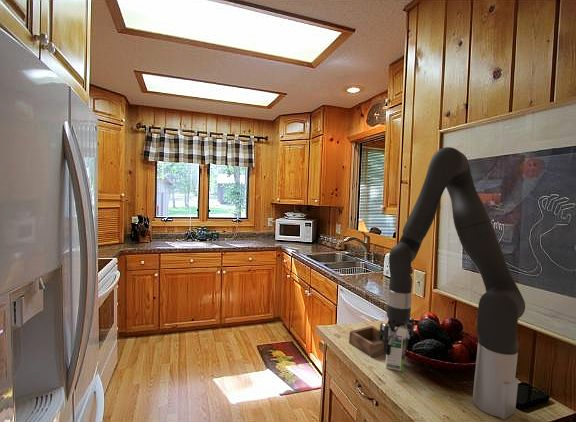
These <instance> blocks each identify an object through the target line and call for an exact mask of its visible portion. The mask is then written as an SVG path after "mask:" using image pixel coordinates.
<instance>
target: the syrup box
mask: <svg viewBox="0 0 576 422" xmlns="http://www.w3.org/2000/svg"><path fill="white" fill-rule="evenodd" d="M399 326H401V327H399V328H398V327H395V330H396V329H397V328H398V331H397V332H396V333H397V335H396V337H395V339H393V340H392V342H391V352H390V355H387V354H385V369H387V370H388V369H389V370H390V369H391V370H395V371H400V372H404V371H405V359H406V358H405V357H406V350H405V346H406V333H407V328H406V324H405V326H404V325H399ZM395 330H394V331H395ZM393 333H394V332H393V331H392V330H391V328H390V327H389V331H388V334H391V335H392V334H393ZM389 338H390V336H388V340H389Z"/></svg>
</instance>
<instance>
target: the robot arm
mask: <svg viewBox="0 0 576 422" xmlns="http://www.w3.org/2000/svg"><path fill="white" fill-rule="evenodd" d="M445 190H447V193H448V195H449V198H450V202H451V210H452V219H453V224H454V228H455V231H456V233H457V237H458V240H459V242H460V245H461V246H462V249H463V250H464V252H465V253H466V255H467V256H468V257H469V258H470V260H471V262H472V263H473V264H474V265H475V267H476V268H477V270H478V271H479V274H480V276H481V279H482V282H483V285H484V289H485V293H484V294H482V295H481V297H480V298H479V302H478V306H477V320H476V332H477V333H476V334H477V335H478V338H477V340H478V341H477V351H476V359H475V360H476V361H475V370H474V371H475V372H474V379H473V380H474V382H473V392H472V402H473V404H474V406H475V407H476V408H478V409H479V410H480V411H482V412H484V413H486V414H488V415H491V416H493V417H497V418H499V419H502V420H506V419H508V418H509V417H510V416H512V415H514V414H515V413H516V406H517V398H518V397H517V396H518V388H519V379H518V378H517V377H516V372H517V366H518V365H517V363H518V355H519V347H520V343H519V340H517V335H518V333H517V332H518V323H519V319H520V318H522V316H523V315H524V314H525V311H526V302H525V299H524V297H523V294H522V293H521V291H520V289H519V287H518V285H517V284H516V282H515V279H514V278H513V276H512V274H511V272H510V270H509V268H508V265H507V262H506V259H505V256H504V253H503V250H502V247H501V245H500V242H499V240H498V237H497V234H496V231H495V228H494V226H493V223H492V221H491V219H490V216H489V214H488V212H487V210H486V208H485V205H484V204H483V201H482V200H481V197H480V196H479V193H478V191H477V189H476V186H475V183H474V180H473V174H472V171H471V167H470V163H469V160H468V157H467V156H466V155H465V154H464V153H463V152H461V151H460V150H458V149H457V148H454V147H449V146H446V147H442V148H440V149H438V150H436V151H435V153H434V154H433V155H432V157H431V159H430V162H429V164H428V168H427V172H426V175H425V178H424V182H423V184H422V187H421V189H420V192H419V194H418V197H417V199H416V202H415V204H414V206H413V208H412V210H411V211H410V214H409V215H408V218H407V220H406V222H405V223H404V226H403V228H402V235H401V237H400V239H399V240H398V242H397V244H396V245H395V246H393V247H392V248H391V250H390V251H389V257H388V267H389V276H390V277H389V284H388V291H387V299H386V300H387V301H386V317H387V323H383V322H381V323H380V327H379V329H380V335H379V341H381V342H383V343H384V348H383V352H384V353H385V354H384V355H386V354H387V355H390V352H391V342H392V340H393V339H395V337H396V335H397V333H396V332H397V331H398V328H399V327H401V326H399V325H404V326H405V324H406V328H407V333H406V346H405V349H406V350H408V346H409V339H410V337H413V336H414V329H415V328H414V327H415V319H414V318H412V317H411V314H412V311H411V310H412V302H413V300H412V299H413V298H412V291H413V288H412V287H413V276H412V273H411V271H412V262H414V260H415V259H416V257H417V255H418V253H419V250H420V249H421V246H422V242H423V240H424V239H425V237H426V236H427V234H428V232H429V230H430V228H431V226H432V224H433V222H434V219H435V217H436V214H437V210H438V207H439V204H440V200H441V198H442V196H443V193H444V192H445ZM389 327H390V328H391V330H392V331H393V332H394V333H393V334H392V335H391V334H388V331H389ZM395 327H398V328H397V329H396V330H395ZM394 330H395V331H394ZM383 336H384V338H383ZM388 336H390V338H389V340H388Z"/></svg>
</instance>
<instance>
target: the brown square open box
mask: <svg viewBox="0 0 576 422" xmlns="http://www.w3.org/2000/svg"><path fill="white" fill-rule="evenodd" d="M379 335H380V328H377V327H376V326H374V325H371V326H366V327H362V328H358V329H355V330H351V331H349V337H348V344H350V345H351V346H353V347H355V348H356V349H358V350H360V351H361V352H362V353H364V354H366V355H367V356H369V357H370V358H371V359H373V358H376V357H380V356H383V355H386V354H385V353H384V352H383V348H384V343H383V342H381V341H379ZM383 338H384V336H383Z"/></svg>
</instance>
